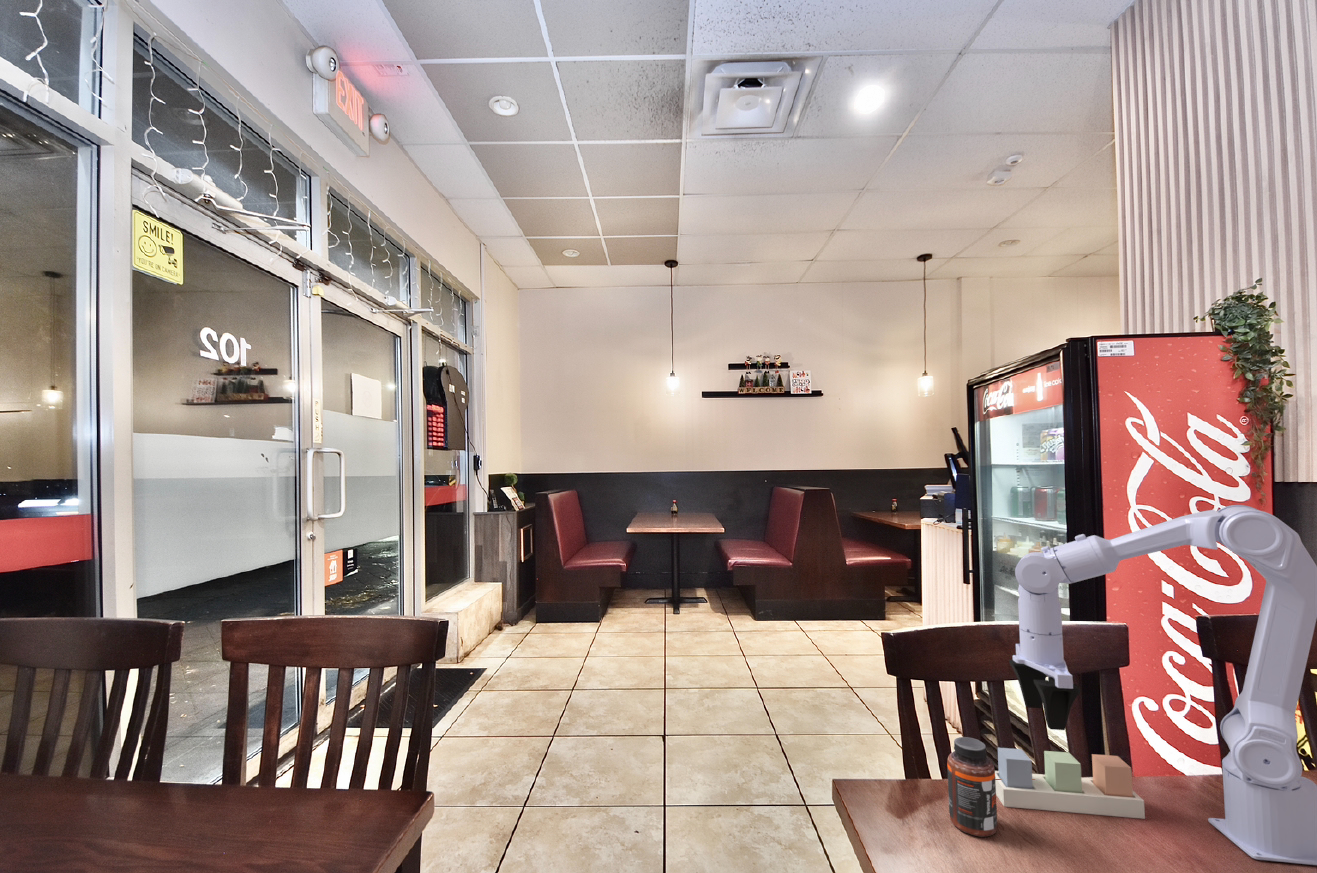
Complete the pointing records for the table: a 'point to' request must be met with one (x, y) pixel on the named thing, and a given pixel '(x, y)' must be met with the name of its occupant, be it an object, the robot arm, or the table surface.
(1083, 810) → the button bar
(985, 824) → the supplement bottle
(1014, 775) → the button slate
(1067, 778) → the button green
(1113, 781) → the button terracotta
